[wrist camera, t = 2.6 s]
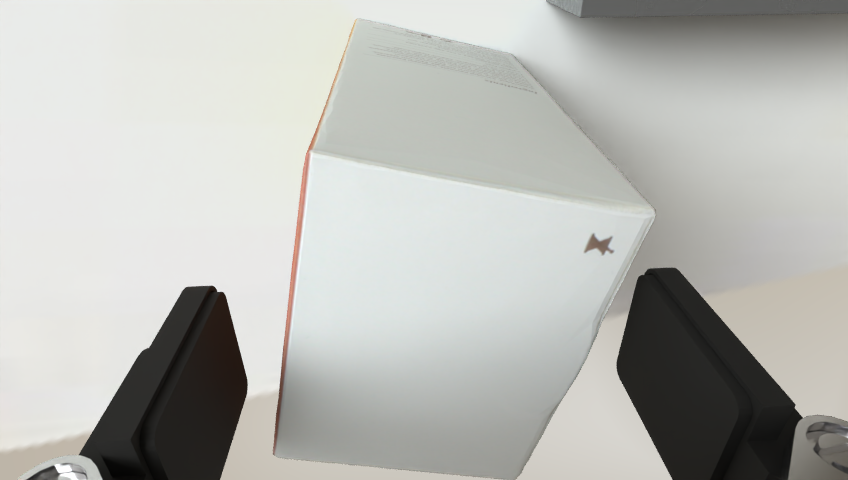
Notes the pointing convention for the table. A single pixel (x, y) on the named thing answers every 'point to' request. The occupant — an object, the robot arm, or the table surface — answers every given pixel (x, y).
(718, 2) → the cradle
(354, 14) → the table surface
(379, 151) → the small box
